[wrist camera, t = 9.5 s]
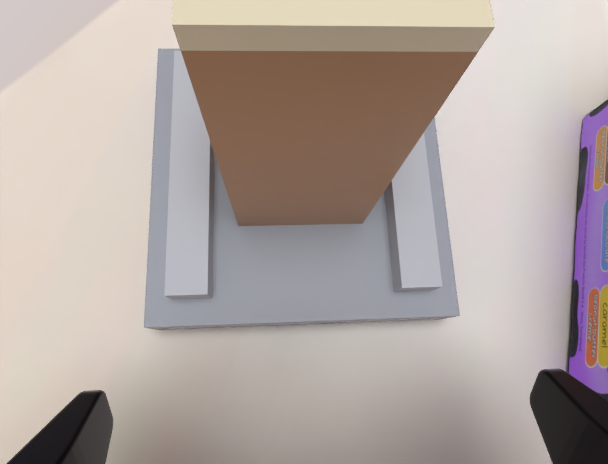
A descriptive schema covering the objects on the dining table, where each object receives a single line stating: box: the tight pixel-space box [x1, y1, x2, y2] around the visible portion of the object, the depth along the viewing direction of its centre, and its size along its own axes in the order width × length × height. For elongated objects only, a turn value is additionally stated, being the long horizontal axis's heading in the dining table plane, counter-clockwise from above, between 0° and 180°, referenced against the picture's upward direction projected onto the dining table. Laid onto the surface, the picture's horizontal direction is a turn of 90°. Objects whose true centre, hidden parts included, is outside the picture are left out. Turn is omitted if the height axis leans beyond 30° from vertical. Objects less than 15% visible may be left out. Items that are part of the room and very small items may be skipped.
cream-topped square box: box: [172, 0, 494, 226], centre depth 13 cm, size 4×5×11 cm
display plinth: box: [144, 49, 460, 330], centre depth 18 cm, size 12×12×4 cm
